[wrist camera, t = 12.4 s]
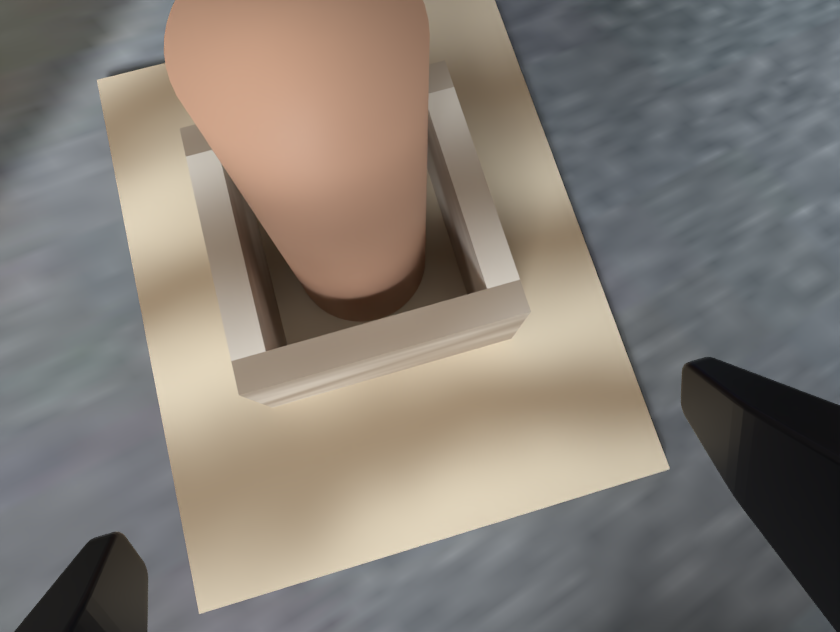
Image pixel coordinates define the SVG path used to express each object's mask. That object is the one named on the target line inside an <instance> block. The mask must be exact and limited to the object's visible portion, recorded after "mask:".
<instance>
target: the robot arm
mask: <svg viewBox="0 0 840 632" xmlns="http://www.w3.org/2000/svg"><path fill="white" fill-rule="evenodd" d="M681 406H682V410H683V413H684V415H685V417H686V419H687V420H688V422H689V424H690V425H691V427H692V429H693V430H694V432H695V433H696V435H697V437H698V438H699V440H700V442H701V443H702V445H703V447H704V448H705V450H706V452H707V453H708V455H709V457H710V458H711V460H712V462H713V463H714V465H715V467H716V468H717V470H718V472H719V473H720V475H721V477H722V478H723V480H724V482H725V483H726V485H727V486H728V488H729V489H730V491H731V493H732V494H733V496H734V497H735V498H736V500H737V501H738V503H739V504H740V505H741V507H742V508H743V509H744V511H745V512H746V513H747V515H748V516H749V517H750V519H751V520H752V521H753V523H754V524H755V525H756V527H757V528H758V529H759V530H760V532H761V533H762V534H763V536H764V537H765V538H766V540H767V541H768V542H769V544H770V545H771V546H772V548H773V549H774V550H775V551H776V553H777V554H778V555H779V557H780V558H781V559H782V561H783V562H784V563H785V565H786V566H787V567H788V569H789V570H790V571H791V572H792V574H793V575H794V576H795V578H796V579H797V580H798V582H799V583H800V584H801V586H802V587H803V588H804V590H805V591H806V592H807V593H808V595H809V596H810V597H811V599H812V600H813V601H814V603H815V604H816V605H817V607H818V608H819V609H820V611H821V612H822V613H823V614H824V616H825V617H826V618H827V620H828V621H829V622H830V624H831V625H832V626H833V628H834V629H835V630H836V632H840V405H838V404H835V403H832V402H830V401H827V400H824V399H822V398H819V397H816V396H814V395H811V394H808V393H806V392H803V391H800V390H798V389H795V388H792V387H790V386H787V385H784V384H782V383H779V382H776V381H774V380H771V379H768V378H766V377H763V376H761V375H758V374H755V373H753V372H750V371H747V370H745V369H742V368H739V367H737V366H734V365H731V364H729V363H726V362H723V361H721V360H718V359H715V358H712V357H704V358H701V359H697V360H694V361H691V362H688V363H686V364H685V365H684V366H683V368H682V383H681ZM147 622H148V573H147V569H146V566H145V564H144V562H143V560H142V559H141V557H140V556H139V555H138V553H137V552H136V551H135V549H134V548H133V546H132V545H131V544H130V542H129V541H128V539H127V538H126V537H125V536H124V534H122V533H120V532H112V533H109V534H105V535H102V536H98V537H95V538H93V539H91V540H90V541H89V542H88V543H87V544H86V545H85V546H84V547H83V548H82V550H81V551H80V552H79V553H78V555H77V556H76V557H75V558H74V559H73V561H72V562H71V563H70V564H69V565H68V567H67V568H66V569H65V570H64V572H63V573H62V574H61V575H60V576H59V578H58V579H57V580H56V581H55V583H54V584H53V585H52V586H51V587H50V589H49V590H48V591H47V592H46V594H45V595H44V596H43V597H42V598H41V600H40V601H39V602H38V603H37V605H36V606H35V607H34V608H33V609H32V611H31V612H30V613H29V614H28V616H27V617H26V618H25V619H24V620H23V622H22V623H21V624H20V625H19V627H18V628H17V629H16V630H15V631H14V632H147Z"/></svg>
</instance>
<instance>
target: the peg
mask: <svg viewBox="0 0 840 632" xmlns="http://www.w3.org/2000/svg"><path fill="white" fill-rule="evenodd" d="M429 47H430V32H429V21H428V16H427V12H426V8H425V4H424V2H423V0H175V2H174V4H173V6H172V8H171V11H170V14H169V17H168V20H167V25H166V30H165V36H164V56H165V64H166V69H167V73H168V76H169V80H170V83H171V85H172V87H173V89H174V91H175V93H176V95H177V97H178V99H179V100H180V102H181V103H182V105H183V106H184V108H185V109H186V111H187V112H188V114H189V115H190V117H191V118H192V120H193V121H194V123H195V124H196V126H197V127H198V129H199V130H200V132H201V133H202V135H203V136H204V138H205V139H206V141H207V142H208V144H209V146H210V147H211V149H212V150H213V152H214V153H215V155H216V156H217V158H218V159H219V161H220V162H221V164H222V165H223V167H224V168H225V170H226V171H227V173H228V174H229V176H230V177H231V179H232V180H233V182H234V183H235V185H236V186H237V188H238V189H239V191H240V192H241V194H242V195H243V197H244V198H245V200H246V201H247V203H248V205H249V206H250V208H251V209H252V211H253V212H254V214H255V215H256V217H257V218H258V220H259V221H260V223H261V224H262V226H263V227H264V229H265V230H266V232H267V233H268V235H269V236H270V238H271V239H272V241H273V242H274V244H275V245H276V247H277V248H278V250H279V251H280V253H281V254H282V256H283V257H284V259H285V260H286V262H287V264H288V265H289V267H290V268H291V270H292V271H293V273H294V274H295V276H296V277H297V279H298V280H299V282H300V283H301V285H302V286H303V288H304V289H305V291H306V292H307V294H308V295H309V297H310V298H311V299H312V300H313V301H314V303H315V304H316V305H318V306H319V307H320V308H321V309H322V310H324V311H326V312H327V313H329V314H331V315H333V316H335V317H338V318H341V319H344V320H349V321H359V322H362V321H372V320H377V319H380V318H383V317H386V316H388V315H390V314H392V313H394V312H395V311H397V310H398V309H400V308H401V307H402V306H404V305H405V304H406V303H407V302H408V301H409V300H410V299H411V297H412V296H413V295H414V293H415V292H416V290H417V289H418V287H419V285H420V283H421V280H422V277H423V273H424V268H425V244H426V195H427V146H428V97H429Z"/></svg>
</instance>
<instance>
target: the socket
mask: <svg viewBox="0 0 840 632" xmlns="http://www.w3.org/2000/svg"><path fill="white" fill-rule="evenodd" d="M423 2H424V4H425V8H426V12H427V16H428V21H429V32H430V47H429V97H428V146H427V195H426V244H425V268H424V273H423V277H422V280H421V283H420V285H419V287H418V289H417V290H416V292H415V293H414V295H413V296H412V297H411V299H410V300H409V301H408V302H407V303H406V304H405V305H404V306H402V307H401V308H400V309H398V310H397V311H395V312H394V313H392V314H390V315H388V316H386V317H383V318H380V319H377V320H372V321H362V322H359V321H349V320H344V319H341V318H338V317H335V316H333V315H331V314H329V313H327V312H326V311H324V310H322V309H321V308H320V307H319V306H318V305H316V304H315V303H314V301H313V300H312V299H311V298H310V297H309V295H308V294H307V292H306V291H305V289H304V288H303V286H302V285H301V283H300V282H299V280H298V279H297V277H296V276H295V274H294V273H293V271H292V270H291V268H290V267H289V265H288V264H287V262H286V260H285V259H284V257H283V256H282V254H281V253H280V251H279V250H278V248H277V247H276V245H275V244H274V242H273V241H272V239H271V238H270V236H269V235H268V233H267V232H266V230H265V229H264V227H263V226H262V224H261V223H260V221H259V220H258V218H257V217H256V215H255V214H254V212H253V211H252V209H251V208H250V206H249V205H248V203H247V201H246V200H245V198H244V197H243V195H242V194H241V192H240V191H239V189H238V188H237V186H236V185H235V183H234V182H233V180H232V179H231V177H230V176H229V174H228V173H227V171H226V170H225V168H224V167H223V165H222V164H221V162H220V161H219V159H218V158H217V156H216V155H215V153H214V152H213V150H212V149H211V147H210V146H209V144H208V142H207V141H206V139H205V138H204V136H203V135H202V133H201V132H200V130H199V129H198V127H197V126H196V124H195V123H194V121H193V120H192V118H191V117H190V115H189V114H188V112H187V111H186V109H185V108H184V106H183V105H182V103H181V102H180V100H179V99H178V97H177V95H176V93H175V91H174V89H173V87H172V85H171V83H170V80H169V76H168V73H167V69H166V64H165V63H163V64H159V65H155V66H151V67H147V68H143V69H139V70H135V71H131V72H127V73H123V74H119V75H115V76H111V77H107V78H103V79H99V80H97V83H98V88H99V93H100V98H101V104H102V109H103V114H104V119H105V124H106V130H107V135H108V140H109V145H110V151H111V156H112V161H113V166H114V171H115V177H116V182H117V187H118V192H119V197H120V203H121V208H122V213H123V218H124V224H125V229H126V234H127V239H128V244H129V250H130V255H131V260H132V265H133V271H134V276H135V281H136V286H137V291H138V297H139V302H140V307H141V312H142V317H143V323H144V328H145V333H146V338H147V344H148V349H149V354H150V359H151V364H152V370H153V375H154V380H155V385H156V391H157V396H158V401H159V406H160V411H161V417H162V422H163V427H164V432H165V437H166V443H167V448H168V453H169V458H170V464H171V469H172V474H173V479H174V484H175V490H176V495H177V500H178V505H179V511H180V516H181V521H182V526H183V531H184V537H185V542H186V547H187V552H188V557H189V563H190V568H191V573H192V578H193V584H194V589H195V594H196V599H197V604H198V610H199V614H201V613H204V612H207V611H211V610H214V609H217V608H220V607H224V606H227V605H230V604H233V603H237V602H240V601H243V600H246V599H250V598H253V597H256V596H259V595H263V594H266V593H269V592H272V591H276V590H279V589H282V588H285V587H289V586H292V585H295V584H298V583H302V582H305V581H308V580H311V579H315V578H318V577H321V576H324V575H328V574H331V573H334V572H337V571H341V570H344V569H347V568H350V567H353V566H357V565H360V564H363V563H366V562H370V561H373V560H376V559H379V558H383V557H386V556H389V555H392V554H396V553H399V552H402V551H405V550H409V549H412V548H415V547H418V546H422V545H425V544H428V543H431V542H435V541H438V540H441V539H444V538H448V537H451V536H454V535H457V534H461V533H464V532H467V531H470V530H474V529H477V528H480V527H483V526H487V525H490V524H493V523H496V522H500V521H503V520H506V519H509V518H513V517H516V516H519V515H522V514H526V513H529V512H532V511H535V510H539V509H542V508H545V507H548V506H552V505H555V504H558V503H561V502H565V501H568V500H571V499H574V498H578V497H581V496H584V495H587V494H591V493H594V492H597V491H600V490H604V489H607V488H610V487H613V486H617V485H620V484H623V483H626V482H630V481H633V480H636V479H639V478H643V477H646V476H649V475H652V474H656V473H659V472H662V471H665V470H669V469H670V468H669V465H668V463H667V460H666V457H665V455H664V452H663V449H662V447H661V444H660V441H659V439H658V436H657V433H656V431H655V428H654V425H653V422H652V420H651V417H650V414H649V412H648V409H647V406H646V404H645V401H644V398H643V396H642V393H641V390H640V388H639V385H638V382H637V380H636V377H635V374H634V372H633V369H632V366H631V364H630V361H629V358H628V356H627V353H626V350H625V348H624V345H623V342H622V340H621V337H620V334H619V331H618V329H617V326H616V323H615V321H614V318H613V315H612V313H611V310H610V307H609V305H608V302H607V299H606V297H605V294H604V291H603V289H602V286H601V283H600V281H599V278H598V275H597V273H596V270H595V267H594V265H593V262H592V259H591V257H590V254H589V251H588V249H587V246H586V243H585V240H584V238H583V235H582V232H581V230H580V227H579V224H578V222H577V219H576V216H575V214H574V211H573V208H572V206H571V203H570V200H569V198H568V195H567V192H566V190H565V187H564V184H563V182H562V179H561V176H560V174H559V171H558V168H557V166H556V163H555V160H554V158H553V155H552V152H551V149H550V147H549V144H548V141H547V139H546V136H545V133H544V131H543V128H542V125H541V123H540V120H539V117H538V115H537V112H536V109H535V107H534V104H533V101H532V99H531V96H530V93H529V91H528V88H527V85H526V83H525V80H524V77H523V75H522V72H521V69H520V67H519V64H518V61H517V58H516V56H515V53H514V50H513V48H512V45H511V42H510V40H509V37H508V34H507V32H506V29H505V26H504V24H503V21H502V18H501V16H500V13H499V10H498V8H497V5H496V2H495V0H423Z"/></svg>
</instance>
